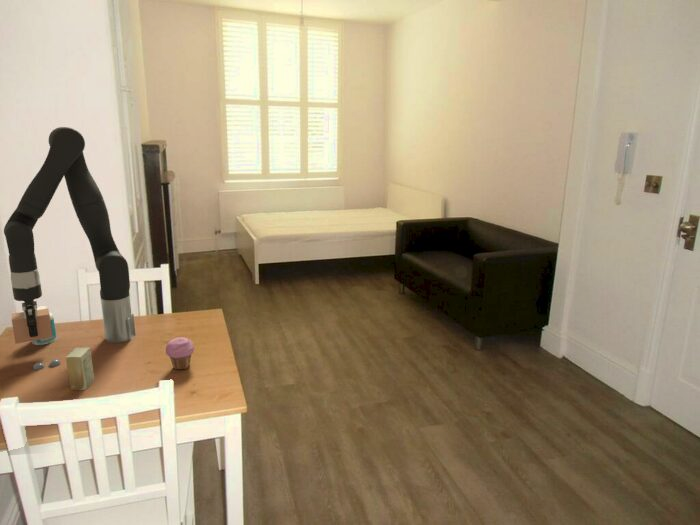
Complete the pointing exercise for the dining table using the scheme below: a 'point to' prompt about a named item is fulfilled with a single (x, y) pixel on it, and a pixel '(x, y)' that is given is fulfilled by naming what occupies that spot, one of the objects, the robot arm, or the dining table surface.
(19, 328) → the tan wooden block
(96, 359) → the dining table surface
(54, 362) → the marble
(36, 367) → the marble
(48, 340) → the pill bottle
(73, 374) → the skincare box
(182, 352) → the cupcake
